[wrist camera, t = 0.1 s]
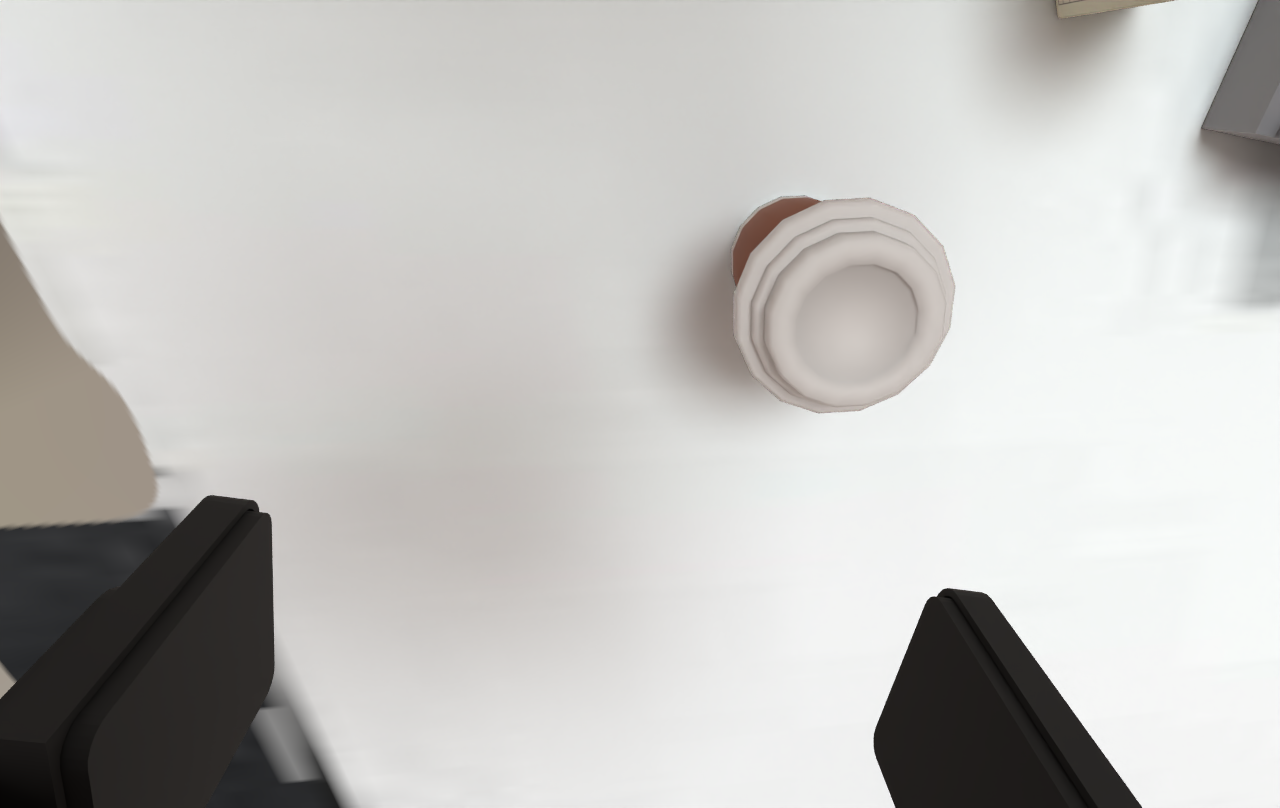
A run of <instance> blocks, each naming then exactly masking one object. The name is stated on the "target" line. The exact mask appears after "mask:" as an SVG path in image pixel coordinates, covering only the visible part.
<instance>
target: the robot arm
mask: <svg viewBox="0 0 1280 808" xmlns="http://www.w3.org/2000/svg"><path fill="white" fill-rule="evenodd" d="M273 674H274V616H273V566H272V523H271V517H270V515H269V514H268V513H262V512H259V507H258V505H257V503H256V502H255V501H254V500H246V499H238V498H230V497H222V496H214V495H210V496H207V497H206V498H204V499H203V500H202V501H201V502H200V503H199V504H198V505H197V506H196V507H195V508H194V509H193V510H192V511H191V513H190V514H189V515H188V516H187V517H186V518H185V519H184V520H183V521H182V522H181V523H180V524H179V525H178V526H177V527H176V528H175V529H174V530H173V531H172V533H171V534H170V535H169V536H168V537H167V538H166V539H165V540H164V541H163V542H162V543H161V544H160V545H159V546H158V547H157V548H156V549H155V550H154V552H153V553H152V554H151V555H150V556H149V557H148V558H147V559H146V560H145V561H144V562H143V563H142V564H141V565H140V566H139V567H138V568H137V569H136V571H135V572H134V573H133V574H132V575H131V576H130V577H129V578H128V579H127V580H126V581H125V582H124V583H123V584H122V585H121V586H120V587H115V588H112V589H109V590H107V591H106V592H105V593H104V594H102V595H101V596H100V597H99V598H98V599H97V600H96V601H95V602H94V603H93V604H92V605H91V606H90V607H89V608H88V609H87V610H86V611H85V612H84V613H83V614H82V615H81V616H80V617H79V618H78V619H77V620H76V621H75V622H74V623H73V624H72V626H71V627H70V628H69V629H68V630H67V631H66V632H65V633H64V634H63V635H62V636H61V637H60V638H59V639H58V640H57V641H56V642H55V643H54V644H53V645H52V646H51V647H50V648H49V649H48V650H47V651H46V652H45V653H44V654H43V655H42V656H41V657H40V659H39V660H38V661H37V662H36V663H35V664H34V665H33V666H32V667H31V668H30V669H29V670H28V671H27V672H26V673H25V674H24V675H23V676H22V677H21V678H20V679H19V680H18V681H17V682H16V683H15V684H14V685H13V686H12V687H11V689H10V690H8V692H7V693H6V694H5V695H4V696H3V697H2V698H1V699H0V808H205V807H206V805H207V803H208V802H209V800H210V798H211V796H212V794H213V792H214V791H215V789H216V787H217V785H218V783H219V782H220V780H221V778H222V776H223V774H224V772H225V771H226V769H227V767H228V765H229V763H230V762H231V760H232V758H233V756H234V754H235V752H236V751H237V749H238V747H239V745H240V743H241V741H242V740H243V738H244V736H245V734H246V732H247V731H248V729H249V727H250V725H251V723H252V721H253V720H254V718H255V716H256V714H257V712H258V710H259V709H260V707H261V705H262V703H263V701H264V700H265V698H266V696H267V694H268V691H269V689H270V686H271V683H272V679H273ZM874 752H875V755H876V759H877V761H878V764H879V766H880V769H881V772H882V774H883V777H884V779H885V782H886V784H887V787H888V790H889V792H890V795H891V797H892V800H893V802H894V805H895V808H1142V806H1141V805H1140V804H1139V802H1138V801H1137V800H1136V798H1135V797H1134V795H1133V794H1132V793H1131V791H1130V790H1129V788H1128V787H1127V786H1126V784H1125V783H1124V782H1123V780H1122V779H1121V777H1120V776H1119V775H1118V773H1117V772H1116V770H1115V769H1114V768H1113V766H1112V765H1111V764H1110V762H1109V761H1108V759H1107V758H1106V757H1105V755H1104V754H1103V753H1102V751H1101V750H1100V748H1099V747H1098V746H1097V744H1096V743H1095V741H1094V740H1093V739H1092V737H1091V736H1090V735H1089V733H1088V732H1087V730H1086V729H1085V728H1084V726H1083V725H1082V723H1081V722H1080V721H1079V719H1078V718H1077V717H1076V715H1075V714H1074V712H1073V711H1072V710H1071V708H1070V707H1069V705H1068V704H1067V703H1066V701H1065V700H1064V699H1063V697H1062V696H1061V694H1060V693H1059V692H1058V690H1057V689H1056V688H1055V686H1054V685H1053V683H1052V682H1051V681H1050V679H1049V678H1048V676H1047V675H1046V674H1045V672H1044V671H1043V670H1042V668H1041V667H1040V665H1039V664H1038V663H1037V661H1036V660H1035V658H1034V657H1033V656H1032V654H1031V653H1030V652H1029V650H1028V649H1027V647H1026V646H1025V645H1024V643H1023V642H1022V641H1021V639H1020V638H1019V636H1018V635H1017V634H1016V632H1015V631H1014V629H1013V628H1012V627H1011V625H1010V624H1009V623H1008V621H1007V620H1006V618H1005V617H1004V616H1003V614H1002V613H1001V611H1000V610H999V609H998V607H997V606H996V605H995V603H994V602H993V600H992V599H991V598H990V597H989V596H988V595H987V594H985V593H982V592H974V591H966V590H958V589H950V588H947V589H943V590H942V591H941V592H940V593H939V594H938V596H937V597H930V598H929V599H928V600H927V602H926V604H925V606H924V609H923V611H922V614H921V616H920V619H919V621H918V624H917V626H916V629H915V631H914V634H913V636H912V639H911V641H910V644H909V646H908V649H907V651H906V654H905V656H904V659H903V661H902V664H901V666H900V669H899V671H898V674H897V676H896V679H895V681H894V684H893V686H892V688H891V691H890V693H889V696H888V698H887V701H886V703H885V706H884V708H883V711H882V713H881V716H880V718H879V721H878V723H877V726H876V729H875V732H874Z"/></svg>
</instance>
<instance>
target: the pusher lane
mask: <svg viewBox="0 0 1280 808" xmlns="http://www.w3.org/2000/svg"><path fill="white" fill-rule="evenodd" d="M1202 128H1203V129H1208V130H1212V131H1217V132H1222V133H1227V134H1231V135H1236V136H1241V137H1246V138H1251V139H1255V140H1260V141H1265V142H1270V143H1275V144H1279V145H1280V0H1259V1H1258V4H1257V6H1256V8H1255V10H1254V12H1253V15H1252V17H1251V19H1250V21H1249V24H1248V26H1247V28H1246V30H1245V32H1244V35H1243V37H1242V39H1241V41H1240V44H1239V46H1238V48H1237V50H1236V52H1235V55H1234V57H1233V59H1232V61H1231V64H1230V66H1229V68H1228V70H1227V72H1226V75H1225V77H1224V79H1223V81H1222V84H1221V86H1220V88H1219V90H1218V92H1217V95H1216V97H1215V99H1214V101H1213V104H1212V106H1211V108H1210V110H1209V112H1208V115H1207V117H1206V119H1205V121H1204V124H1203V126H1202Z"/></svg>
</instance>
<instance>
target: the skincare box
mask: <svg viewBox="0 0 1280 808" xmlns="http://www.w3.org/2000/svg"><path fill="white" fill-rule="evenodd" d="M1168 1H1174V0H1056V7H1057V15H1058V18H1060V19H1063V18H1070V17H1076V16H1082V15H1088V14H1094V13H1101V12H1107V11H1113V10H1119V9H1126V8H1132V7H1138V6H1144V5H1150V4H1156V3H1162V2H1168Z"/></svg>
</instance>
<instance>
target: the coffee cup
mask: <svg viewBox="0 0 1280 808" xmlns="http://www.w3.org/2000/svg"><path fill="white" fill-rule="evenodd" d="M731 272H732V275H733V277H734V281H735V284H736V289H735V292H734V329H733V335H734V337H735V339H736V342H737V344H738V346H739V348H740V351H741V353H742V355H743V357H744V360H745V362H746V364H747V366H748V369H749V371H750V373H751V375H752V376H753V377H754V378H755V379H756V380H757V381H758V382H760V383H761V384H762V385H763V386H764V387H765V388H766V389H767V390H769V391H770V392H771V393H772V394H773V395H774V396H775V397H777V398H778V399H779V400H780V401H782V402H785V403H788V404H791V405H794V406H798V407H801V408H804V409H807V410H810V411H813V412H816V413H831V412H848V411H860V410H862V409H865V408H867V407H869V406H872V405H874V404H876V403H879V402H881V401H884V400H886V399H888V398H891V397H893V396H895V395H898V394H899V393H900V392H901V391H902V390H903V389H904V388H906V387H907V386H908V385H909V384H910V383H911V382H912V381H913V380H914V379H916V378H917V377H918V376H919V375H920V374H921V373H922V372H923V371H924V370H926V369H927V368H928V367H929V366H930V364H931V363H932V361H933V359H934V357H935V355H936V353H937V351H938V350H939V348H940V346H941V344H942V342H943V340H944V339H945V337H946V335H947V333H948V331H949V329H950V325H951V317H952V309H953V301H954V293H955V283H954V280H953V277H952V273H951V270H950V267H949V263H948V260H947V257H946V254H945V250H944V247H943V245H942V244H941V243H940V242H939V241H938V240H937V239H936V238H935V237H934V236H933V235H932V233H931V232H930V231H929V230H928V229H927V228H926V227H925V226H924V225H923V224H922V223H921V222H920V221H919V219H918V218H917V217H916V216H915V215H913V214H910V213H908V212H905V211H903V210H900V209H898V208H895V207H892V206H890V205H887V204H885V203H882V202H879V201H877V200H874V199H872V198H855V199H836V200H824V201H819V200H815V199H813V198H810V197H807V196H805V195H804V196H786V197H779V198H777V199H775V200H772V201H770V202H768V203H766V204H764V205H762V206H760V207H758V208H757V209H756V210H755V211H754V212H753V213H752V214H751V215H750V216H749V217H748V218H747V219H746V220H745V221H744V223H743V224H742V225H741V226H740V228H739V231H738V233H737V236H736V238H735V240H734V243H733V245H732V248H731Z"/></svg>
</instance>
